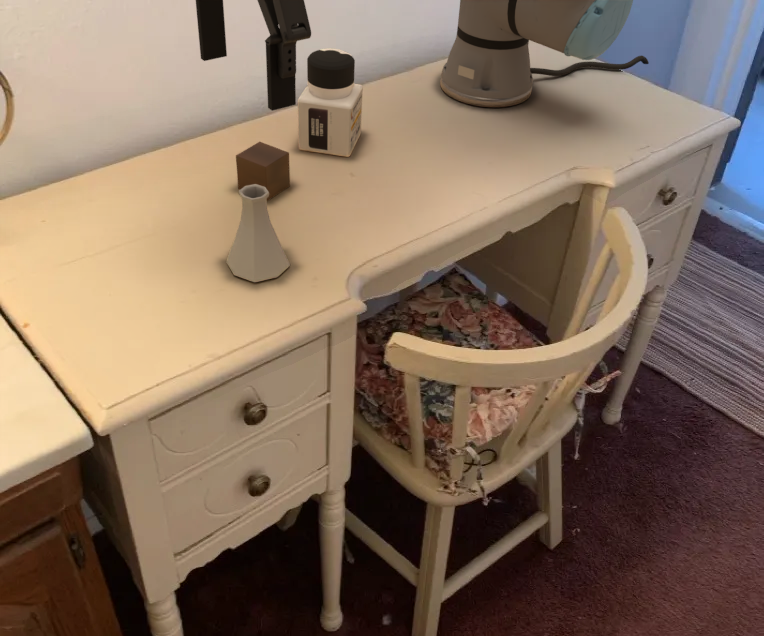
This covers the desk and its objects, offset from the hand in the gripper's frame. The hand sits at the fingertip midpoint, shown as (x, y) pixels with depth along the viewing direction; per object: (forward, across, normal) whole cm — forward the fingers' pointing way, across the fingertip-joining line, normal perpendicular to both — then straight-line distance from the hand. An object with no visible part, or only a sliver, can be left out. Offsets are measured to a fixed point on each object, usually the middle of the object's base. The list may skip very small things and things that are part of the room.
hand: (246, 81), depth 85 cm
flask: (+22, +1, 0) cm, 22 cm away
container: (+22, -20, +25) cm, 39 cm away
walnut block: (+22, -14, +10) cm, 28 cm away
